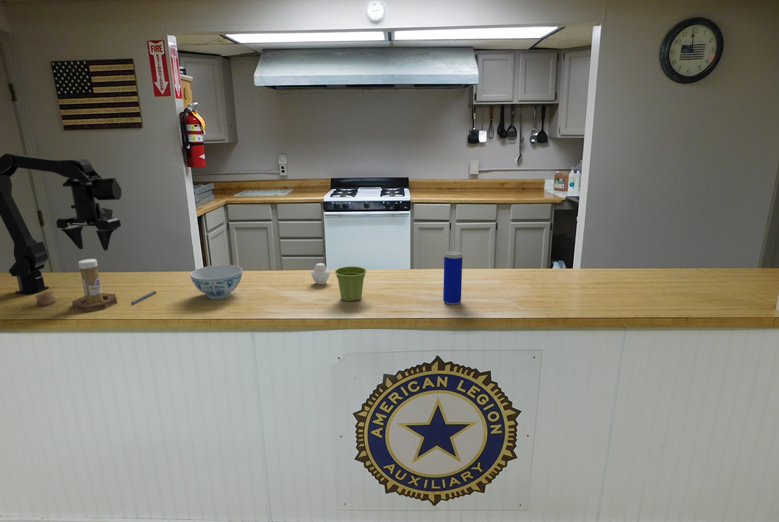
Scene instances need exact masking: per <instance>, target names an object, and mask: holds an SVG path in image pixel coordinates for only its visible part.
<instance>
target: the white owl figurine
mask: <svg viewBox="0 0 779 522" xmlns="http://www.w3.org/2000/svg"><path fill="white" fill-rule="evenodd" d="M330 274H331V271H330V270H329V269H328V268H327V266H326V264H325V263H323V262H319V263H316V264H315V265H314V268H313V269H312V271H311V273H310V275H311V278H312V279H313V282H315V284H316V283H317V284H316V285H318V284H323V285H325V284H324V283H326V284H327V282H328V280H329V277H330Z"/></svg>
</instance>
